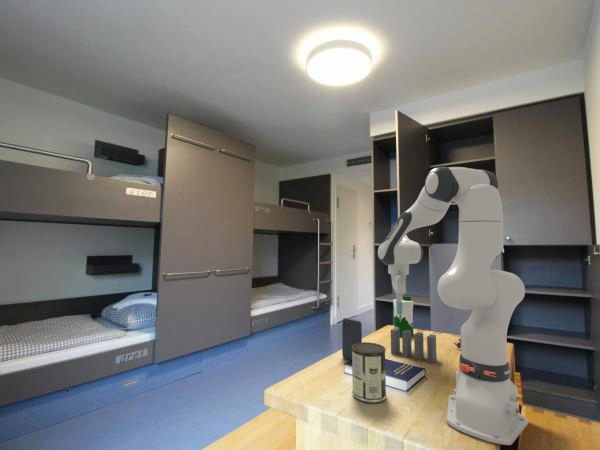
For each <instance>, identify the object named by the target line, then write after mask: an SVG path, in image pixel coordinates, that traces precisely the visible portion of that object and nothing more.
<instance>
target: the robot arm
mask: <svg viewBox="0 0 600 450" xmlns="http://www.w3.org/2000/svg"><path fill="white" fill-rule="evenodd" d="M424 180H425V181H424V186H423V187H422V189H421V191H420V193H419V195H418V197H417V199H416V200H415V202H414V203H413V204H412V205H411V206H410V207H409V208H408V209H407V210H405V211H403V212H402V213H401V214H400V216H399V217H398V218H397V220H396V222H395V223H394V225H393V226H392V228H391V229H390V231H389V233H388V234H387V235H386V237H385V238H384V240H383V241H382V242H381V243H380V244H379V246H378V248H377V257H378V260H379V261H381V263H383V264H384V265H385V266H388V267H387V272H388V274H389V275H390V278H391V286H392V288H393V290H394V293H395V294H394V295H396V292H397V295H398V298H397V299H398V303H402V299H403V296H404V295H406V294H407V283H406V282H407V281H406V279H407V276H408V275H410V265H413V264H418V263H420V262H421V260H422V259H423V256H424V249H423V247H422V245H421V244H420V243H419V242H417V241H414V240H411V238H410V239H409V237H408V235H407V234H408V233H410V232H411V231H413V230H417V229H419V228H423V227H429V226H433V225H435V224H438V223H439V222H440V221H441V220H442V219H444V216H445V215H446V214H447V211H448V210H449V208H450V205H451V204H452V202H453V203H456V204H457V206H458V211H459V212H458V241H457V243H458V245H457V249H456V250H457V251H456V254H455V257H454V259H453V262H452V263H451V265H450V266H449V268H448V270H447V271H446V272H445V273H443V274H442V275H441V276H440V278H439V279H438V281H437V288H436V289H437V294H438V297H439V299H440V300H441V301H442V303H444V305H446V306H447V307H449V308H453V309H459V310H464V311H465V310H466V311H468V310H469V311H470V310H471V314H470V316H469V317H468V319H466V321H464V323H463V324H462V325H461V328H460V330H459V331H460V339H461V348H460V353H459V358H458V359H459V360H458V363H459V365H458V366H459V367H458V370H457V371H455V382H456V385H455V388H453V389H452V394H450V395H448V399H447V409H446V424H448V425H449V426H451V427H452V428H454V429H456V430H458V431H460V432H463V433H464V434H467V435H470V436H473V437H475V438H478V439H481V440H484V441H486V442H490V443H494V444H499V445H503V446H504V445H505V446H512V444H513V443H514V442H515V441H516V440H517V438H519V436H520V435H521V433H522V432H523V431H524V430H525V428H526V427H527V426H528V425H529V419H528V418H527V417H526V416H525V415H523V414H521V413H520V406H519V405H520V404H519V395H518V388H517V387H518V386H517V385H515V384H514V383H513V381H511V379H510V377H511V367H510V363H509V361H508V351H507V348H508V347H507V345H508V344H507V342H508V341H507V335H508V328H509V326H510V325H509V324H510V321H511V318H512V315H513V313H514V311H515V310H516V308H517V306H518V305H519V304H520V303H521V302H522V301H523V300H524V298H525V296H526V295H525V294H526V286H525V284H524V282H523V281H522V279H521V278H520V277H519V276H518V275H516V274H515V273H512V272H508V271H505V270H500V269H491V265H492V263H493V262H494V259H495V258H496V257H497V256H498V255H500V254H501V253H502V252H503V249H504V212H503V211H504V210H503V204H502V199H501V194H500V192H499V189H498V187H499V181H498V178H497V176H496V175H495V174H494V173H493V172H491V171H489V170H485V169H476V168H470V167H469V168H468V167H463V166H462V167H461V166H450V167H447V166H438V167H434V168H433V169H431V170H430V171H429V172H428V174H427V175H426V177H425V179H424Z"/></svg>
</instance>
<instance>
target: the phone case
mask: <svg viewBox="0 0 600 450" xmlns="http://www.w3.org/2000/svg"><path fill="white" fill-rule="evenodd" d="M341 322H342V323H341V324H342V325H341V326H342V327H341V328H342V329H341V331H342V335H341V337H342V339H341V340H342V343H341V344H342V349H341V350H342V351H341V353H342V357H343V359H345V360H349V361H351V360H352V345H353V344H356V343H361V342H362V341H363V339H362V335H363V333H362V328H363V327H362V322H361V321H360V320H356V319H352V318H347V317H345V318H343V319H342V320H341Z"/></svg>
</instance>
